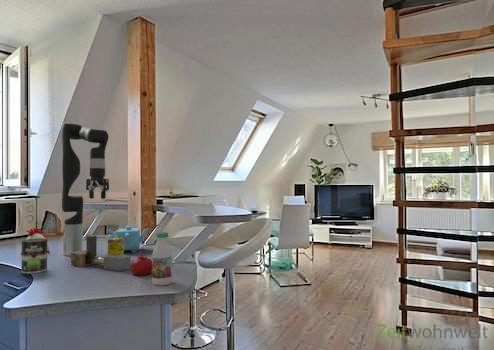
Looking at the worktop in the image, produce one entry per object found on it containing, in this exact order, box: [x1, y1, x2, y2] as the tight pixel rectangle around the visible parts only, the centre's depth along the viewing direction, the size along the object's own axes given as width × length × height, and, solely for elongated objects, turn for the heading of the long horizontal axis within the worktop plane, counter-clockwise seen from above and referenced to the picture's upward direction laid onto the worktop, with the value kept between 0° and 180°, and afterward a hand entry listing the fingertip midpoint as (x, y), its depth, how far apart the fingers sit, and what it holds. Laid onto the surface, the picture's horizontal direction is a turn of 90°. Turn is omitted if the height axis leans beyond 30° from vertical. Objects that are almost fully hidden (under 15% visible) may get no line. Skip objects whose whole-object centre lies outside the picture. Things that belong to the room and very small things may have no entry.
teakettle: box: [106, 225, 150, 253], centre depth 210 cm, size 19×19×15 cm
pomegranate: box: [129, 252, 152, 276], centre depth 156 cm, size 10×10×9 cm
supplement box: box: [107, 238, 125, 256], centre depth 187 cm, size 6×6×11 cm
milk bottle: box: [151, 231, 173, 286], centre depth 141 cm, size 8×8×20 cm
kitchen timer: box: [20, 227, 50, 255], centre depth 204 cm, size 14×14×15 cm
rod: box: [85, 235, 104, 266], centre depth 171 cm, size 21×3×13 cm, turn 63°
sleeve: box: [103, 254, 132, 272], centre depth 166 cm, size 11×6×6 cm, turn 63°
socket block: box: [70, 249, 95, 268], centre depth 176 cm, size 8×8×6 cm
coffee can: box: [20, 238, 49, 275], centre depth 163 cm, size 10×10×14 cm
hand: (97, 198), depth 185 cm, fingers open, 8 cm apart
